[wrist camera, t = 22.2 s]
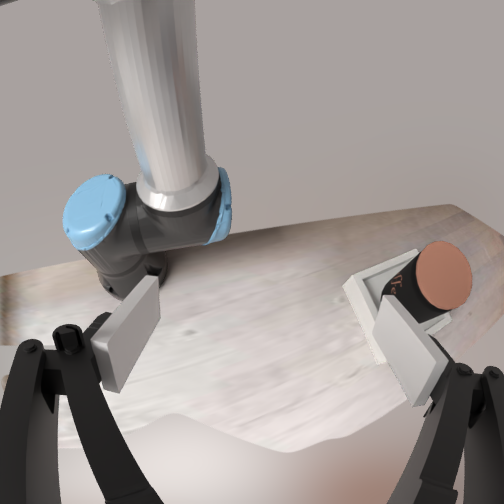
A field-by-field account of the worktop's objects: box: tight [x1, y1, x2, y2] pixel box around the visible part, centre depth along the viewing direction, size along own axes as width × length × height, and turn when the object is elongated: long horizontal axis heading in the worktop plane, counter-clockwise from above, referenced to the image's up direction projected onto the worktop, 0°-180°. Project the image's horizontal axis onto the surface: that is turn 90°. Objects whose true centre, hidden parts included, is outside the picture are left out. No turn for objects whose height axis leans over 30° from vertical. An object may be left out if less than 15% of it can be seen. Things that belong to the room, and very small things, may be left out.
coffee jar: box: [380, 241, 472, 324], centre depth 43 cm, size 11×11×18 cm
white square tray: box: [342, 248, 452, 365], centre depth 53 cm, size 18×18×6 cm
